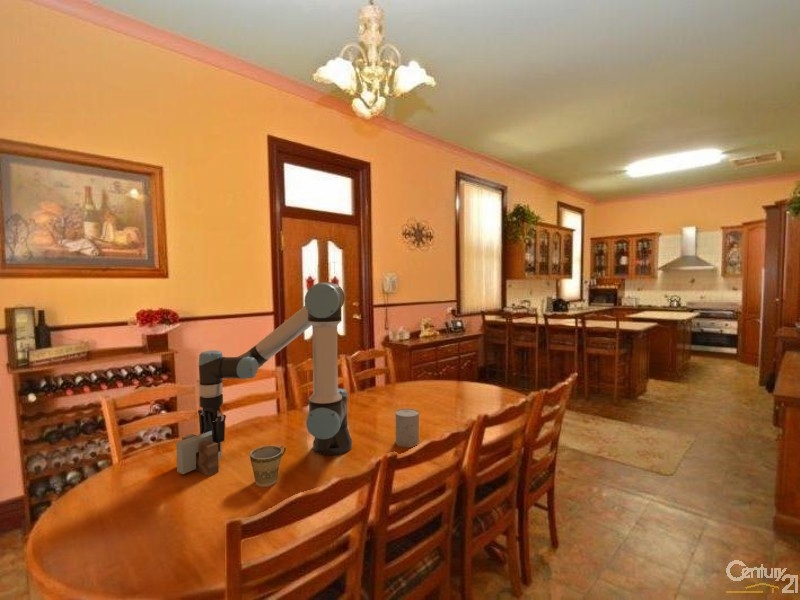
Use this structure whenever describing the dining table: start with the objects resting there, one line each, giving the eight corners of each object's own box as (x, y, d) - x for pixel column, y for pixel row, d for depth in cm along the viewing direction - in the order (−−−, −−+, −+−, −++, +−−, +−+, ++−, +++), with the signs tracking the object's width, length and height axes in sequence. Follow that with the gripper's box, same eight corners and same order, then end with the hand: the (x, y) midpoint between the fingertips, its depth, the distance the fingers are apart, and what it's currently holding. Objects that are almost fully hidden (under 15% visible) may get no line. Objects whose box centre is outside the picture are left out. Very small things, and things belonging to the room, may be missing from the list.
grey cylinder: (422, 440, 164) (422, 410, 163) (413, 449, 155) (413, 418, 155) (401, 436, 168) (401, 407, 167) (391, 444, 159) (391, 414, 159)
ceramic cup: (264, 493, 123) (263, 461, 123) (243, 484, 129) (243, 453, 128) (296, 475, 134) (295, 446, 134) (275, 467, 140) (275, 440, 139)
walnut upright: (218, 472, 137) (217, 443, 136) (209, 476, 134) (208, 447, 133) (192, 460, 145) (191, 433, 145) (182, 464, 142) (182, 436, 142)
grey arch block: (221, 458, 144) (220, 431, 144) (182, 474, 133) (182, 444, 132) (215, 455, 146) (215, 429, 146) (177, 471, 134) (176, 442, 134)
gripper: (235, 395, 141) (236, 460, 142) (207, 388, 150) (209, 449, 151) (215, 401, 134) (216, 469, 136) (187, 393, 143) (189, 457, 145)
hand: (212, 458), depth 143 cm, fingers closed on grey arch block, 3 cm apart
